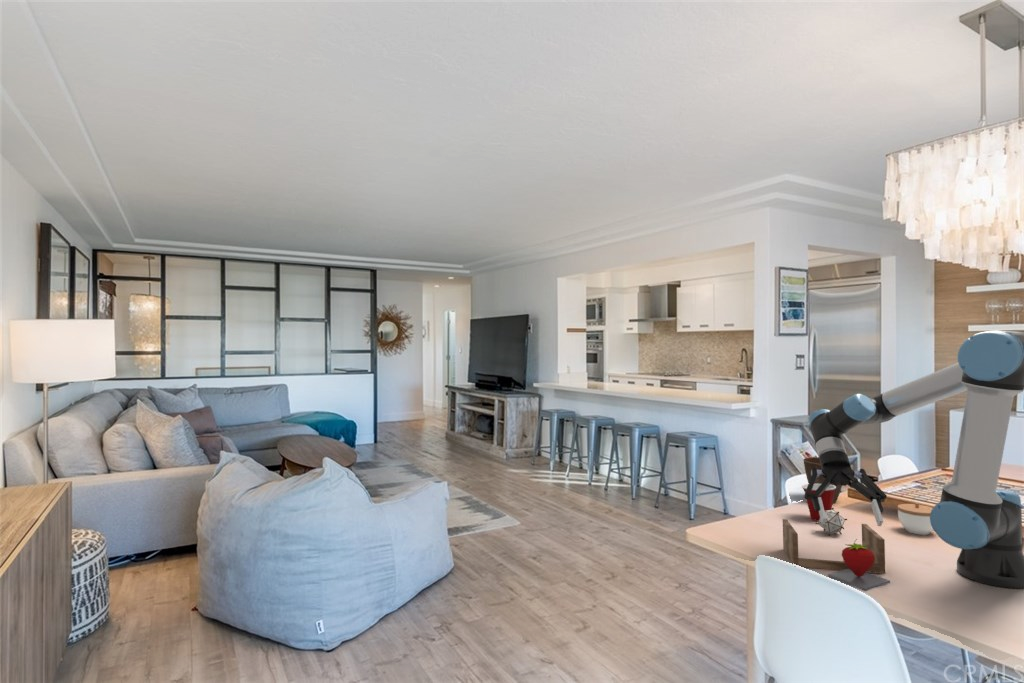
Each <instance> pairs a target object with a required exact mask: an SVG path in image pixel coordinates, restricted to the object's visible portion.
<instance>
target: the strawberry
mask: <svg viewBox="0 0 1024 683" xmlns="http://www.w3.org/2000/svg"><path fill="white" fill-rule="evenodd" d="M857 540H858V539H857V538H856V539H855V540H854V542H853V544H851V543H850V544H844V545H845V546H847V547H845V548H843V549H842V552H841V557H842V559H843V560H842V561H844V562H845V563H846V565H847V566H848V567H849V569H850V570H851V571H852V572H853V573H854V574H855V575H856V576H857V577H861V576H863V575H864V574H865V573H866V572H867V571H868V570H869V569H870V568H871V567H872V566H873V564H874V561H875V556H874V553H872V552H871V551H870V550H868V548H865V547H868V546H862V543H861V544H858V543H856V541H857ZM867 573H868V572H867Z"/></svg>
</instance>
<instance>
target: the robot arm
mask: <svg viewBox="0 0 1024 683" xmlns="http://www.w3.org/2000/svg"><path fill="white" fill-rule="evenodd" d="M963 392H966V398H965V405H964V409H963V410H964V411H963V414H962V415H963V416H962V420H961V421H962V422H961V427H960V433H959V438H958V442H957V450H956V454H955V460H954V466H953V472H952V478H951V481H950V482H948V483H946V484H943V486H942V490H941V494H940V495H941V496H940V502H938V503H937V504H935V505H934V507H932V508H933V509H932V510H931V513H930V523H931V526H932V528H933V531H934V532H935V534H936V535H937V536H938V538H939V539H941V540H942V541H943V542H944V543H946V544H948V545H950V546H951V547H954V548H956V549H960V552H959V555H958V557H957V560H956V571H957V573H959V574H960V575H961V576H963V577H965V578H967V579H969V580H972V581H975V582H977V583H981V584H985V585H990V586H995V587H1001V588H1008V589H1024V551H1023V522H1022V521H1023V518H1022V509H1023V505H1022V501H1021V496H1020V495H1019V493H1016V492H1014V491H1012V490H1011V491H1010V490H1005V489H1000V488H997V487H998V483H999V478H1000V477H999V476H1000V472H1001V466H1002V462H1003V461H1002V460H1003V457H1004V450H1005V447H1006V446H1005V445H1006V440H1007V435H1008V429H1009V423H1010V419H1011V414H1012V413H1011V412H1012V407H1013V403H1014V397H1015V396H1017V395H1019V394H1021V393H1023V392H1024V332H1023V331H1018V330H1009V331H1008V330H999V329H998V330H986V331H981V332H978V333H975V334H973V335H972V336H970V337H968V338H966V340H965V341H963V343H962V344H961V346H960V347H959V349H958V351H957V362H956V363H954V364H952V365H948V366H946V367H944V368H941V369H939V370H936V371H934V372H932V373H929V374H927V375H924V376H922V377H919V378H917V379H914V380H912V381H909V382H906V383H904V384H902V385H899V386H897V387H895V388H893V389H890V390H887V391H885V392H883V393H880V394H878V395H876V396H872V397H868V396H867V395H865V394H862V393H856V394H853V395H852V396H849V397H847V398H846V399H844V401H842V402H841V403H839V404H838V405H836V406H835V407H833V408H831V409H825V408H824V409H823V408H821V409H819V410H815V411H813V412H812V413H810V415H809V417H808V421H809V422H808V423H809V429H810V432H811V435H812V437H813V441H814V445H815V449H816V453H817V456H818V457H819V461H820V465H821V468H822V470H817V469H816V468H815V467H813V468H812V470H811V479H810V482H809V483H807V484H808V487H807V489H806V492H804V496H803V498H804V499H805V500H807V499H810V500H811V502H812V503H813V506H814V509H815V511H819V515H820V519H821V523H822V524H825V522H826V519H827V518H826V514H825V511H824V507H823V503H822V499H821V497H820V495H821V494H822V493H823V492H824V491H825V489H826V488H827V487H828V486H829V485H830V484H833V485H836V486H837V485H842V487H847V486H848V487H849V488H852V489H854V490H855V491H857V492H858V493H859V494H861V495H862V496H863V497H865V498H866V499H867V500H868V501H870V502H871V503H870V507H871V509H872V513H873V516H874V518H875V522H876V525H877V527H882V525H883V523H884V518H883V515H882V514H883V512H884V507H883V505H882V503H885V501H886V499H887V498H888V496H887V494H886V493H885V492H884V491H883V490H882V489H881V488H880V487H879V486H878V485H877V484H876V482H874V481H873V480H872V478H870V476H869V475H867V471H866V469H865V468H860V469H859V470H854V469H852V466H851V462H850V460H849V456H848V454H847V449H846V447H845V444H844V441H843V437H842V436H843V435H845V434H846V433H848V432H849V431H851V430H853V429H854V428H856V427H858V426H862V425H870V424H875V423H876V424H879V423H880V424H881V423H882V424H883V423H885V422H889V421H891V420H893V419H894V418H896V417H898V416H900V415H903V414H906V413H909V412H911V411H915V410H917V409H920V408H922V407H925V406H928V405H931V404H934V403H936V402H939V401H941V400H945V399H947V398H950V397H953V396H956V395H958V394H962V393H963ZM819 475H822V476H823V477H824V478H825V480H824V482H823V483H822V484H821V485H820V486H819V487H818V489H817V490H816V491H815V492H814V493H813V494H812V493H811V491H812V488H813V486H814V483H815V480H816V478H817V477H819ZM856 477H857V478H856ZM859 480H860V481H859Z"/></svg>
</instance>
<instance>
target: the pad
mask: <svg viewBox="0 0 1024 683" xmlns="http://www.w3.org/2000/svg"><path fill="white" fill-rule="evenodd" d="M827 577H829V578H831V579H833V580H837V581H840V582H841V583H842V582H843V583H844V584H847V585H850V586H852V587H855V588H858V589H861V590H863V591H869V590H872V589H875V588H878V587H881V586H884V585H888V584H891V580H890V579H887V578H885V577H881V576H878V575H875V574H873V573H871V572H866V573H865V574H864V575H863V576H861V577H857V576H856V575H855V574H854V573H853V572H852V571H851V570H850V569H849V568H848V569H844V570H837V571H835V572H831V573H828V574H827Z"/></svg>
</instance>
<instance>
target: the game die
mask: <svg viewBox="0 0 1024 683" xmlns="http://www.w3.org/2000/svg"><path fill="white" fill-rule="evenodd" d="M834 509H835V508H834V507H832V510H826V511H825V514H826V518H827V519H826V522H825V524H822V523H821V519H820V518H819V521H817V522H815V523H814V525H819V526H820V527H821V528H822V530H823V531H824V532H826V533H828V536H831V534H836V533H837V534H838V533H839V534H841V535H842V532H841V531H842V530H845V527H844V524H845V521H848V518H844V517H842V515H840V511H835V510H834ZM819 516H820V515H819Z"/></svg>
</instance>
